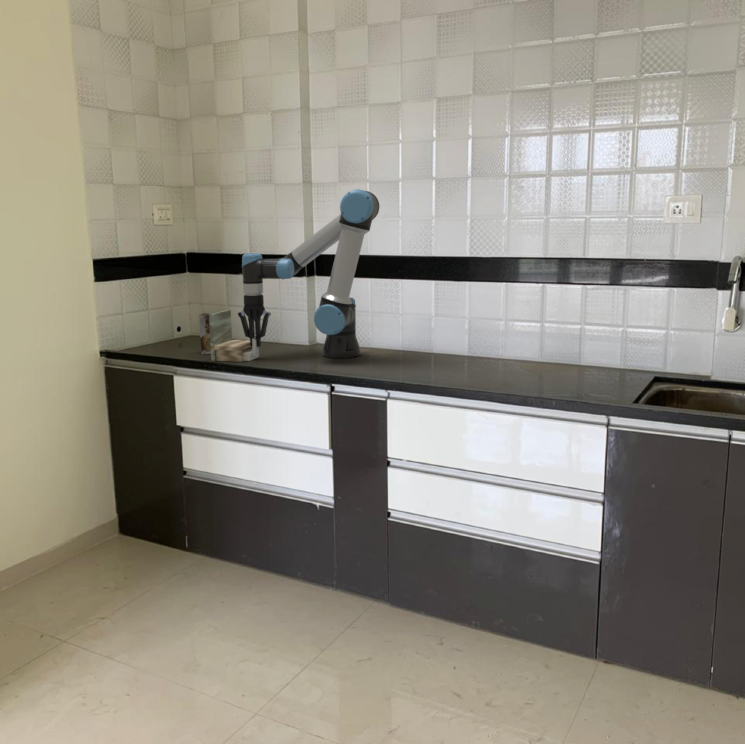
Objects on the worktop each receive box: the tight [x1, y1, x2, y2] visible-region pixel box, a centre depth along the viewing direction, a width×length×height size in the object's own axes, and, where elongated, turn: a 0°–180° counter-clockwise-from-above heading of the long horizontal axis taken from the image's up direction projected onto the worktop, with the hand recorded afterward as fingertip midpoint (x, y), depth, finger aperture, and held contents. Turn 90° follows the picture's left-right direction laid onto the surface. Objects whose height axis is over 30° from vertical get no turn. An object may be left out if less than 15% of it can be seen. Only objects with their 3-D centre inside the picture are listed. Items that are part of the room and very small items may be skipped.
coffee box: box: [198, 312, 214, 355], centre depth 301 cm, size 9×6×16 cm
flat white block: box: [242, 349, 260, 362], centre depth 289 cm, size 11×9×3 cm
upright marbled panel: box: [209, 309, 253, 363], centre depth 288 cm, size 12×16×18 cm
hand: (255, 354), depth 288 cm, fingers closed
